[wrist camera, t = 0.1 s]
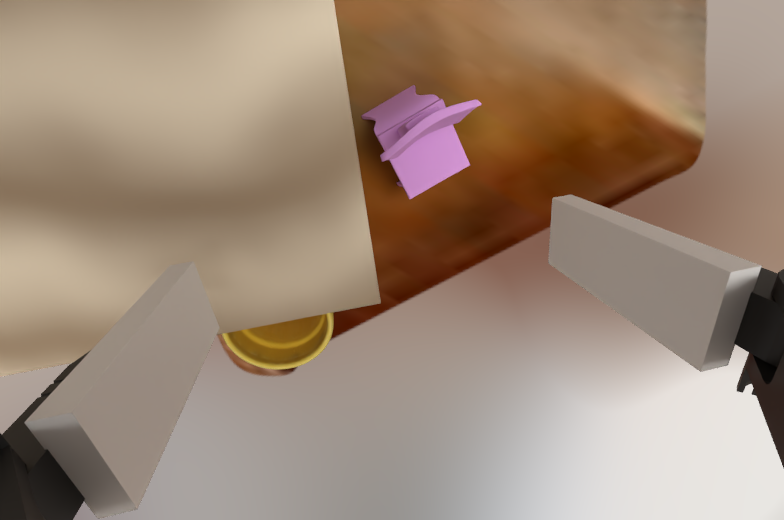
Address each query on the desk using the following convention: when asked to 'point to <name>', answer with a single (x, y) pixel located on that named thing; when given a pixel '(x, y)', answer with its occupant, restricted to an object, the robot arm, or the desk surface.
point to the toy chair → (420, 138)
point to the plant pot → (282, 342)
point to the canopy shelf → (173, 166)
